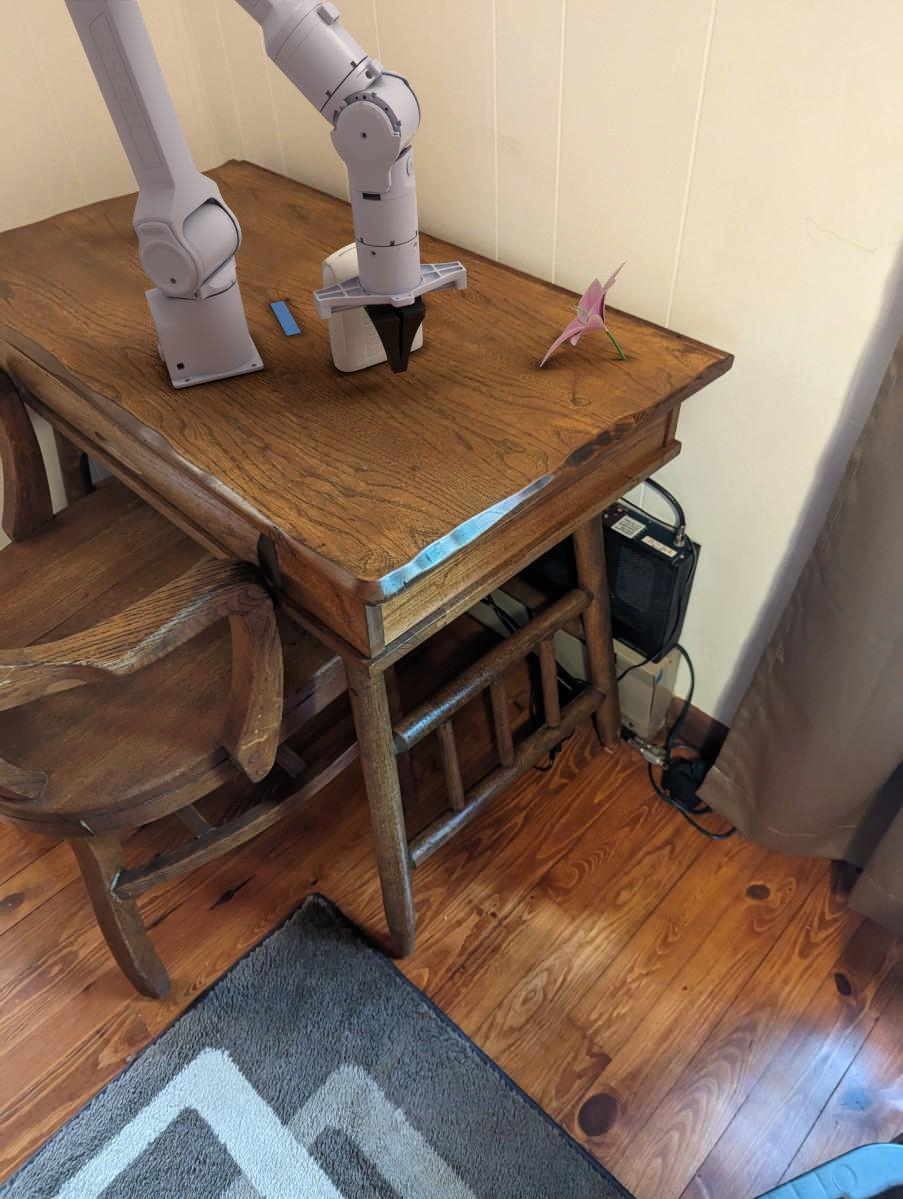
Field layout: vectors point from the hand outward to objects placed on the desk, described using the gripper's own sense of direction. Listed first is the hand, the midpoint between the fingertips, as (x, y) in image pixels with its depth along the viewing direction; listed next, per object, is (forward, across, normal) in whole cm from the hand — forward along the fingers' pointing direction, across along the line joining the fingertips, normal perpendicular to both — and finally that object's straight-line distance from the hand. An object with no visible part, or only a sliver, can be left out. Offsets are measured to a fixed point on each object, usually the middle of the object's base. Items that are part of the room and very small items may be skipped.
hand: (397, 367), depth 87 cm
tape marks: (+2, 0, +19) cm, 19 cm away
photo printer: (+2, 0, +7) cm, 7 cm away
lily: (+2, +20, -2) cm, 20 cm away
